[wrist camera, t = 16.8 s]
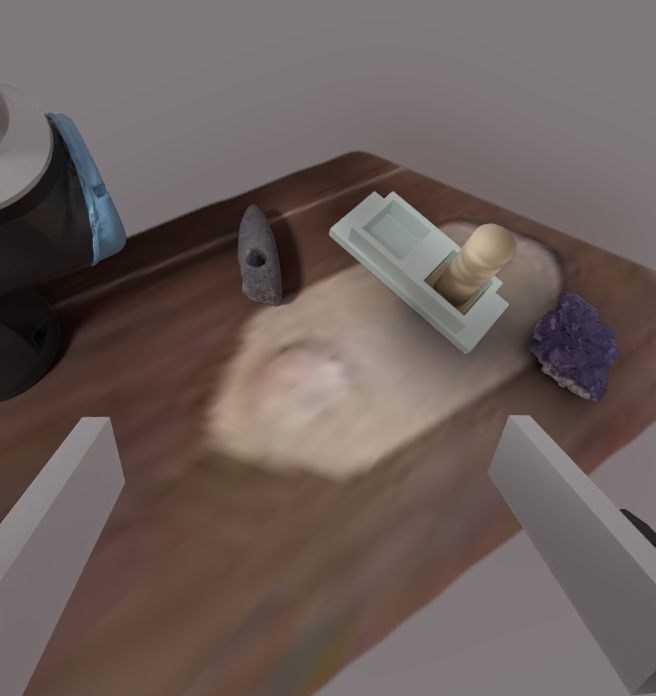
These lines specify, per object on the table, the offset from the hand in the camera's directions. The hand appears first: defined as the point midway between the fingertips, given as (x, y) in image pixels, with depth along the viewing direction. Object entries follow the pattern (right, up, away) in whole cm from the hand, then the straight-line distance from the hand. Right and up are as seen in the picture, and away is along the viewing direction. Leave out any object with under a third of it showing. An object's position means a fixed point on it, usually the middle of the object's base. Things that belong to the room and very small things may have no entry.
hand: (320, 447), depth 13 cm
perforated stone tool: (-9, +15, +39) cm, 43 cm away
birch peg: (+17, +11, +39) cm, 45 cm away
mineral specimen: (+34, +3, +41) cm, 54 cm away
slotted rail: (+13, +15, +42) cm, 46 cm away
